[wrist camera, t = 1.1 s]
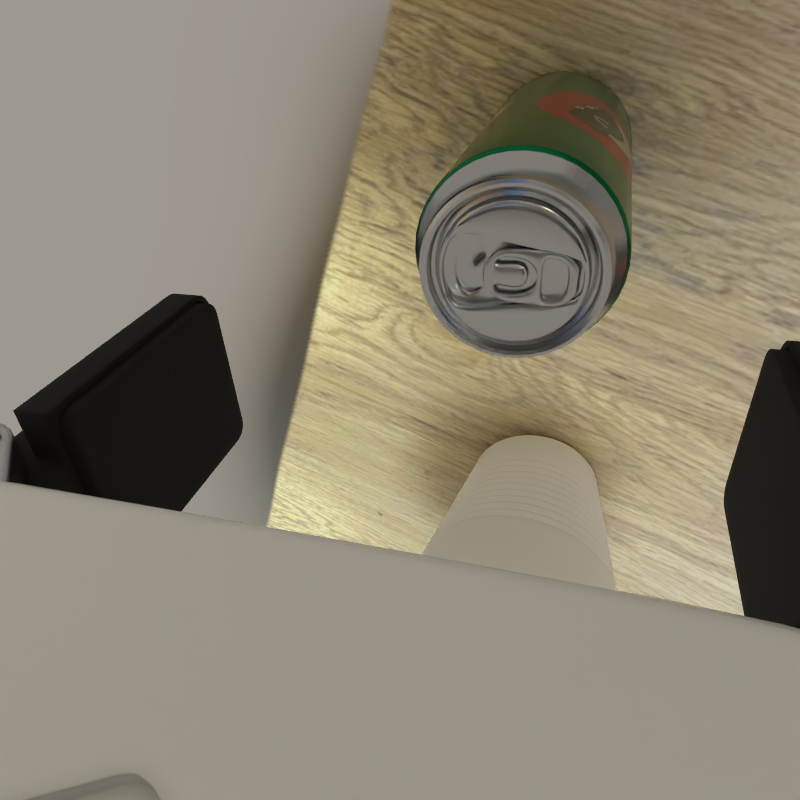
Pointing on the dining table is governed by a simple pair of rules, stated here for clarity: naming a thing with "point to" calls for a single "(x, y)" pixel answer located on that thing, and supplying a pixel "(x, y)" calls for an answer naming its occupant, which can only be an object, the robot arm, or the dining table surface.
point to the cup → (529, 514)
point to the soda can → (533, 220)
